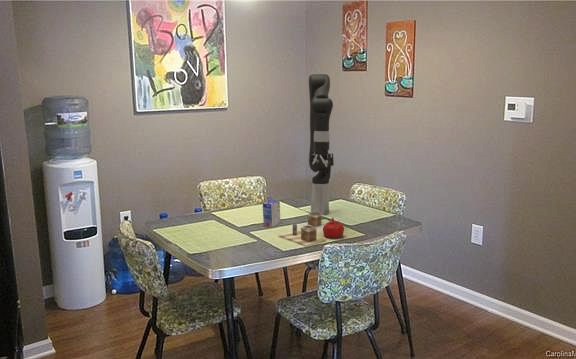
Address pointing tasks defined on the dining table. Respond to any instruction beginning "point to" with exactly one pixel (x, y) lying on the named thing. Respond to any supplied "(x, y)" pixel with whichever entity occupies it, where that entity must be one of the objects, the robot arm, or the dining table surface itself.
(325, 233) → the pomegranate
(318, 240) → the pin board
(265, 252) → the dining table surface
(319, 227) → the mat
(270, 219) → the ink cartridge box
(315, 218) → the sleeve
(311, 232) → the sleeve
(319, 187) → the robot arm
